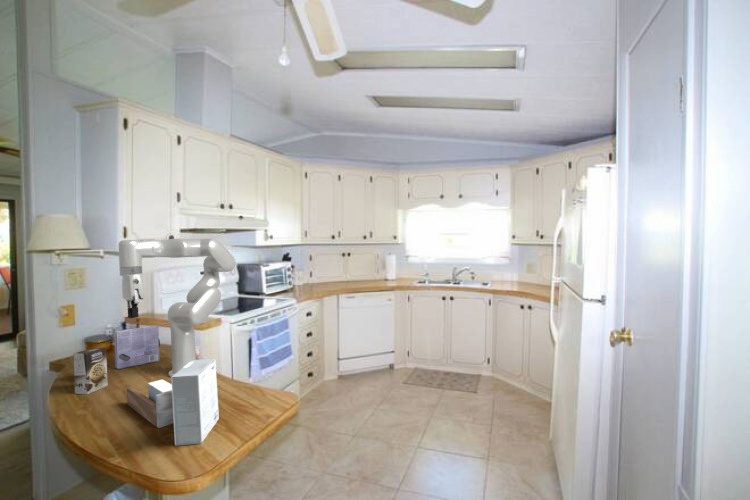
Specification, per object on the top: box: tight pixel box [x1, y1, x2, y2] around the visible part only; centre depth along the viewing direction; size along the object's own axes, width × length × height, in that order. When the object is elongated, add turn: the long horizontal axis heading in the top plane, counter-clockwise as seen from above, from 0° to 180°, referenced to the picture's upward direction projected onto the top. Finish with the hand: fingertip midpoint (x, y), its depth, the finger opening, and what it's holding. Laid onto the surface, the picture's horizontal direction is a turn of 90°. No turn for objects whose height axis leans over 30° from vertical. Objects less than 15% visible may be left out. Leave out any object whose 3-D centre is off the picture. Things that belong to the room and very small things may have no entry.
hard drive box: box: [170, 358, 220, 446], centre depth 115 cm, size 16×8×20 cm, turn 5°
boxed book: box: [147, 379, 172, 403], centre depth 128 cm, size 4×14×10 cm, turn 48°
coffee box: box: [73, 346, 109, 395], centre depth 154 cm, size 9×6×16 cm
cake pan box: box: [114, 325, 161, 370], centre depth 187 cm, size 19×5×18 cm, turn 134°
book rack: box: [126, 386, 174, 429], centre depth 132 cm, size 9×30×10 cm, turn 49°
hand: (133, 317), depth 151 cm, fingers closed
